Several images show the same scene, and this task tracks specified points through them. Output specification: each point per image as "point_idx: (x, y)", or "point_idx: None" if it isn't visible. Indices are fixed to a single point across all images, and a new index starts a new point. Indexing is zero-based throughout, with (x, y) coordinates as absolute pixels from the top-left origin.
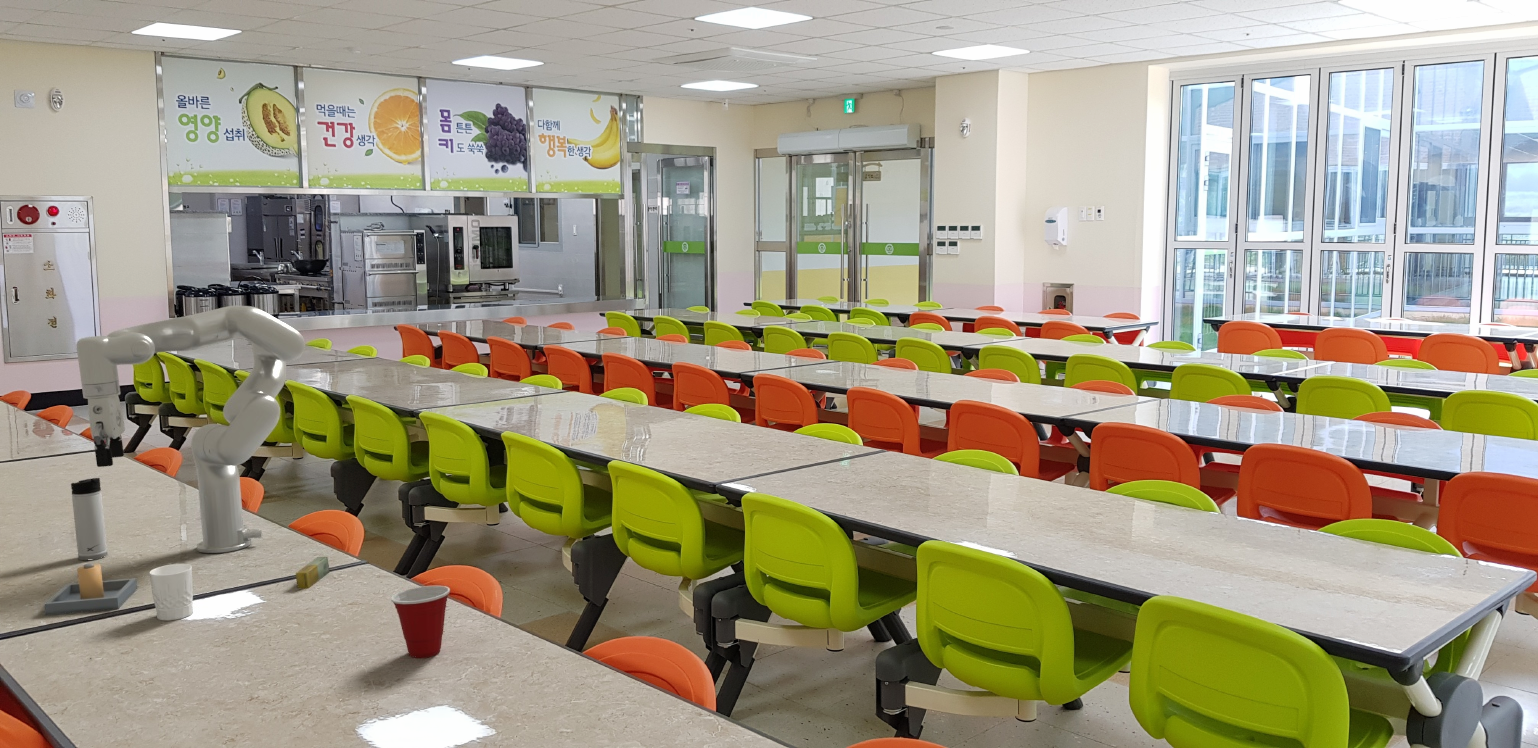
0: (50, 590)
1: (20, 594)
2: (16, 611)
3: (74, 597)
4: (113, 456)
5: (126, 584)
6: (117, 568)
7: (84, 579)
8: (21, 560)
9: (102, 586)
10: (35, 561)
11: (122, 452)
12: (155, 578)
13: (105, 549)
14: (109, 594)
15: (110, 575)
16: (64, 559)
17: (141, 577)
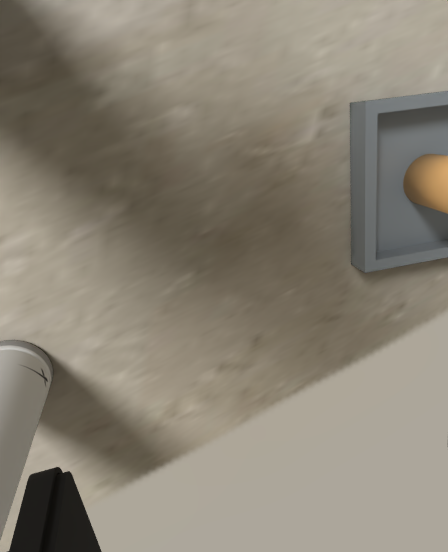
0: (305, 322)
1: (318, 370)
2: (434, 314)
3: (400, 230)
4: (93, 537)
5: (418, 105)
6: (139, 249)
7: None
8: None
9: (446, 156)
10: None
11: (51, 504)
12: None
13: (2, 350)
14: (404, 151)
15: (206, 237)
16: None
17: (242, 136)
